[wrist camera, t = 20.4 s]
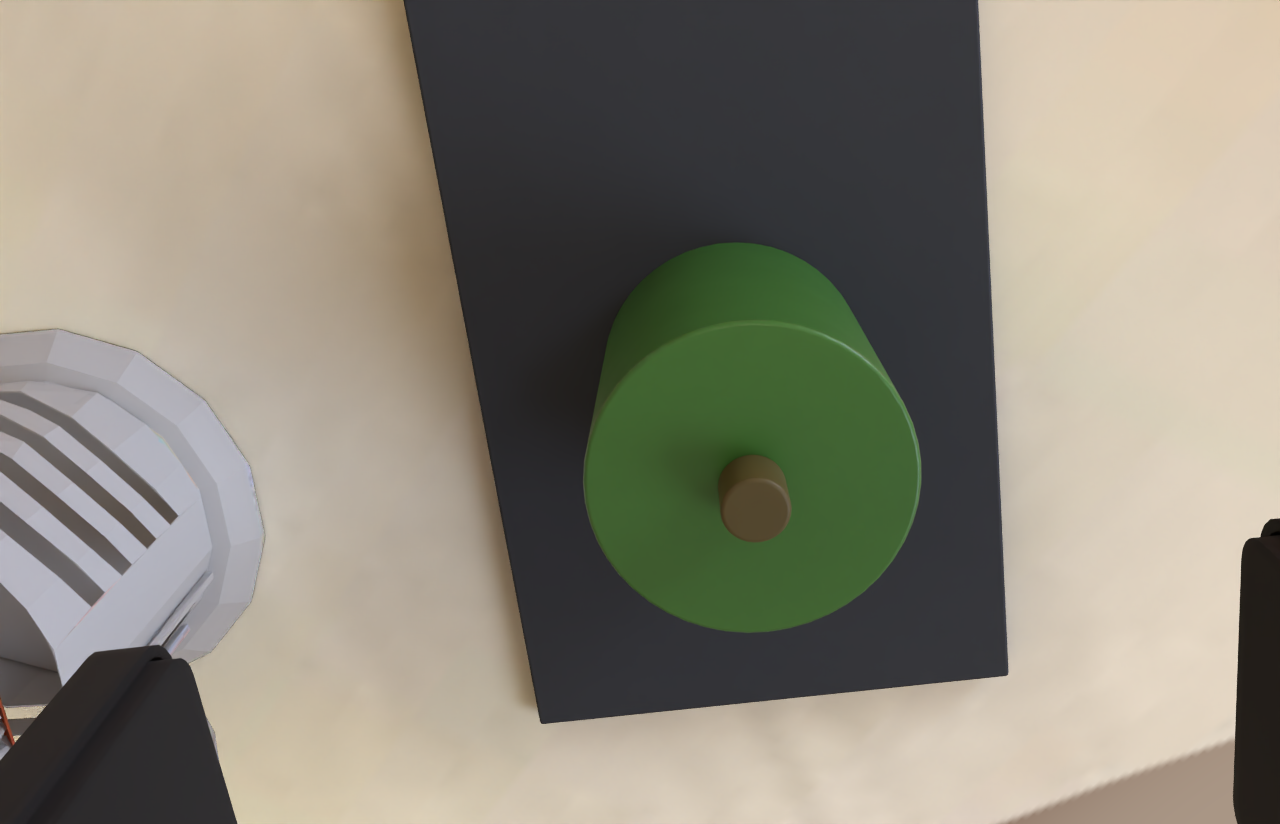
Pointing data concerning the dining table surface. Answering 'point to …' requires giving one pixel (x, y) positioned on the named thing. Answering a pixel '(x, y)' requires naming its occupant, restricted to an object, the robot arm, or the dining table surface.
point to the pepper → (747, 444)
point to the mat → (700, 216)
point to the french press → (111, 515)
